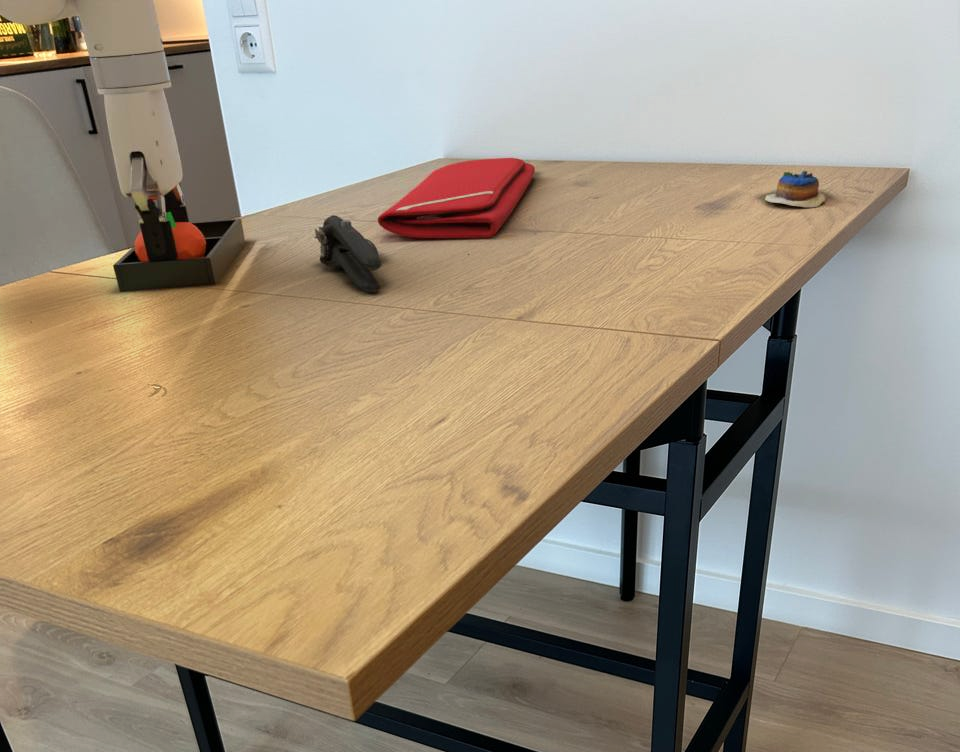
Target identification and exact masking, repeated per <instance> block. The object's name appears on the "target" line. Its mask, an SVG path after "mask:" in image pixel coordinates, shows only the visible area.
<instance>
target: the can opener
mask: <svg viewBox="0 0 960 752" xmlns="http://www.w3.org/2000/svg"><path fill="white" fill-rule="evenodd" d="M352 225H353V224H352V221H351V220H349V219H343V218H342V217H340V216H338V215H335V214H333V215H330V216H328V217H327V218H326V219H325V220H324V222H323V225H322V226H318V229H317V228H314V237H313V238H314V239H317V241H318V242H319V243H320V246H319V248H320V256H319V262H320V263H321V264H323V265H324V266H328V267H331V268H335V269H343V270H344V271H345V273H346V274H347V276H348V277H349V279H351V281H352V282H353V283H354V284H355V285H356V286H357V287H359V288H360V289H361V290H363V291H364V292H366V293H376V292H378V291H379V290H381V284H380V282H379V280H378V279H377V278H376V276H375V275H374V274H373V273H372V271H376V270H378V269H380V268H381V266H382V265H383V263H382V260H381V258H380V257H379V256H380V255H379V251H378V248H377V247H376V245H375V243H374V242H373V241H371V240H370V239H368V238H366V237H364V236H363V234H362V233H360V232H359V231H358V230H357V229H356V228H355V227H353V226H352Z"/></svg>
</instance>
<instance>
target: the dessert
mask: <svg viewBox="0 0 960 752" xmlns="http://www.w3.org/2000/svg"><path fill="white" fill-rule="evenodd" d="M819 187H820V181H819V178H817V177H816V176H813V172H810V173H808V171H807V170H803V171H802V172H801V173H800V174H797V173H794V174H793V172H790V171H785V172H783V174H782V176H781V177H780V178H779V180H778V183H777V185H776V193H771V194H767V195H766V196H765V198H764V200H765V201H766V202H769V203H775V204H784V205H787V206H791V207H792V206H793V207H801V208H817V207H819V206H821V204H822V203H823V202H825V201H826V197H825V194H823V193H820V192H819Z"/></svg>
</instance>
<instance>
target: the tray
mask: <svg viewBox="0 0 960 752" xmlns="http://www.w3.org/2000/svg"><path fill="white" fill-rule="evenodd" d="M189 222H190V221H189ZM190 223H192V224H193V225H195V226H196V227H197V228H198V229H199V230H200V231H201V233H202V234H203V235H204V238H205V241H206V250H205V255H204V257H200V258H187V259H173V260H160V261H147V262H141V261H140V260H139V259H138V257H137V254H136V252H135V245H134V246H133V247H131V248H130V249H129V250H128V251H127V252H125V254H124V255H122V256H121V257H120V258H119V259H118V260H117V261H116V262H115V263H114V264H113V265H112V267H113V271H114V274H115V279H116V282H117V286H118V290H119V293H124V292H138V291H150V290H151V291H152V290H163V289H164V290H165V289H176V288H177V289H178V288H190V287H203V286H216V285H217V283H218V282H219V280H220V279H221V278H222V276H223V275H224V273H225V272H226V270H227V269H228V268H229V266H230V265H231V264H232V262H233V261H234V259H236V257H237V256H238V254H239V252H240V251H241V249H242V248H243V247H244V245H245V244H246V239H245V233H244V228H243V221H242V219H241V218H231V219H218V220H217V219H216V220H204V221H191V222H190Z"/></svg>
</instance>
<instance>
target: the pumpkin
mask: <svg viewBox="0 0 960 752" xmlns="http://www.w3.org/2000/svg"><path fill="white" fill-rule="evenodd" d="M166 221H170V223H171V227H172V232H173V236H174V240H175V245H176V249H177V254H178V258H177V259H187V258H200V257H204V255H205V250H206V241H205V238H204V235H203V234H202V233H201V231H200V230H199V229H198V228H197V227H196V226H195V225H193V224H192V223H190V221H189V222H174V219H173V217H172V214H171V212H166ZM134 246H135V252H136V254H137V257H138V259H139V260H140V261H141V262H147V261H149V260H148V257H147V253H146V248H145V244H144V240H143V236H142V232H141V231H139V233H138V235H136V239H135V241H134Z"/></svg>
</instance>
